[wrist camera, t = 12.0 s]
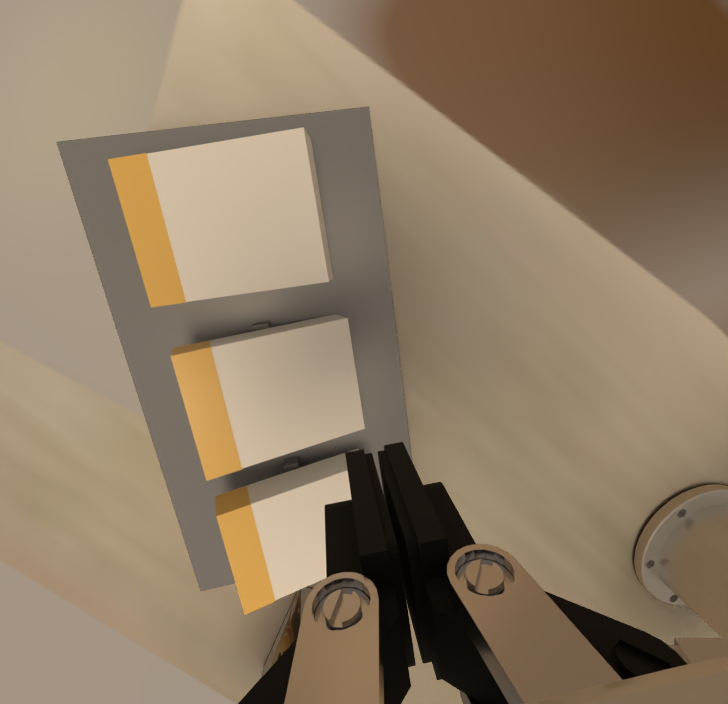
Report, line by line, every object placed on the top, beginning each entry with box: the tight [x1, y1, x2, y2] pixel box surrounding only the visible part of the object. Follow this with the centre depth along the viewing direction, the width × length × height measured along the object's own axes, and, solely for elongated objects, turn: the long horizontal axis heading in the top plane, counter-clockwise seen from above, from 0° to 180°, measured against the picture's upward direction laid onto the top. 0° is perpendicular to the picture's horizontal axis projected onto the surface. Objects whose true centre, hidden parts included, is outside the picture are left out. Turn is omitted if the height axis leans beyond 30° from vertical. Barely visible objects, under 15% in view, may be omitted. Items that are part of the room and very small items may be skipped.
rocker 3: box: [215, 448, 359, 615], centre depth 21 cm, size 8×6×2 cm
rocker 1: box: [108, 127, 333, 307], centre depth 17 cm, size 8×6×2 cm
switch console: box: [57, 107, 412, 591], centre depth 24 cm, size 14×25×7 cm, turn 8°
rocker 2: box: [171, 314, 365, 481], centre depth 19 cm, size 8×6×2 cm
